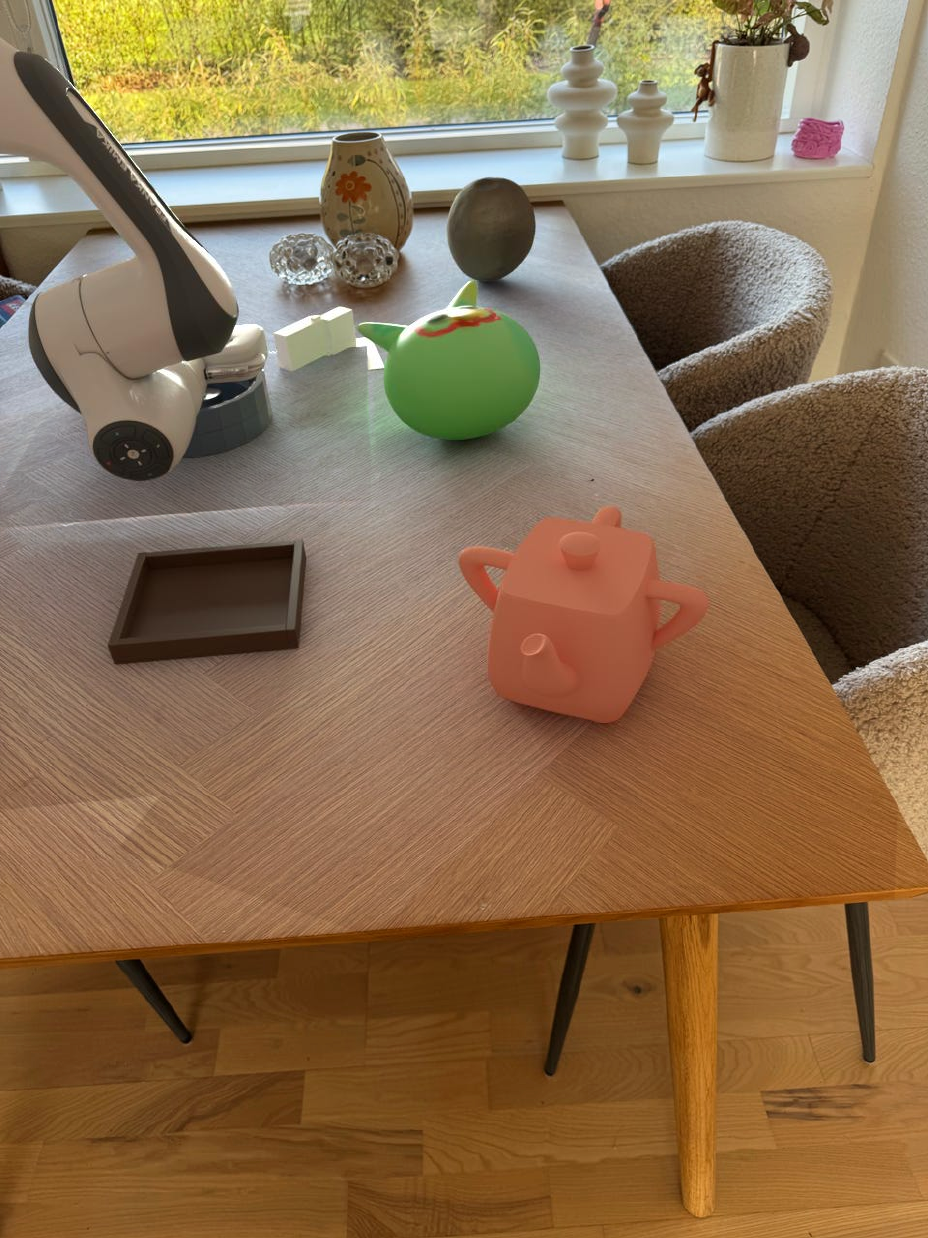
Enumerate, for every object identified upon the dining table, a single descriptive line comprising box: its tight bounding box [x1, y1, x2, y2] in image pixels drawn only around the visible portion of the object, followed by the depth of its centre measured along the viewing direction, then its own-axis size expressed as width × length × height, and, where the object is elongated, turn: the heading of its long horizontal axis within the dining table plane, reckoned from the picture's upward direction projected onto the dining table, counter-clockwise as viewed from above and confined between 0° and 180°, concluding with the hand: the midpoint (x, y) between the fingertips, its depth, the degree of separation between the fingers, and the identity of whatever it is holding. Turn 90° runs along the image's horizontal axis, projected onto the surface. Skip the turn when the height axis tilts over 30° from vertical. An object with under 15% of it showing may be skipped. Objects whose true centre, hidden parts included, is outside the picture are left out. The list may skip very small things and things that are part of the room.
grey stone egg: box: [446, 176, 537, 282], centre depth 142 cm, size 14×14×15 cm
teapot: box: [457, 505, 710, 724], centre depth 70 cm, size 17×16×13 cm
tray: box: [107, 539, 307, 665], centre depth 83 cm, size 16×14×2 cm
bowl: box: [182, 369, 273, 459], centre depth 110 cm, size 17×17×6 cm
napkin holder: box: [268, 306, 385, 372], centre depth 124 cm, size 15×11×6 cm
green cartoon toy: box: [356, 280, 541, 441], centre depth 104 cm, size 18×17×15 cm
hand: (182, 328), depth 106 cm, fingers closed on ladle, 2 cm apart
